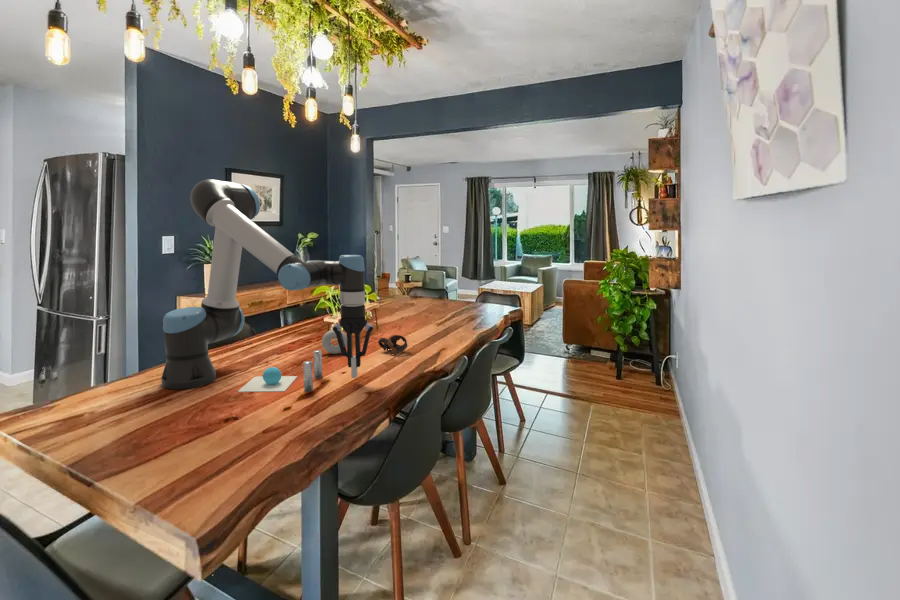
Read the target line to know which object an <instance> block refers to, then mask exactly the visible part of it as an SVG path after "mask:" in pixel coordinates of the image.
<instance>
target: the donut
mask: <svg viewBox="0 0 900 600" xmlns="http://www.w3.org/2000/svg"><path fill="white" fill-rule="evenodd" d="M340 331H341V333H342V337H343V340H344V344H345V347H346V348H347V334H346V332H344V331H342V330H340ZM333 339H337V336H336V333H335V332H334V331H333V329H331V330H329V331H327V332H325V333H324V334H323V337H322V339H321V346H322V347H323V348H324V351H326V352H327V353H329V354H333V355H337V354H341V350H340V347H339V343H338V344H335V345H334V344H332V340H333Z"/></svg>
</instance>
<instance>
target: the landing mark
mask: <svg viewBox="0 0 900 600" xmlns="http://www.w3.org/2000/svg"><path fill="white" fill-rule="evenodd" d="M297 378H298V375H296V376H295V375H281V379H280V381H279V382H278V383H276V384H273V385H270V384H267V383H266V382H265V381H264V380H263V375H262V376H260V375H259V376H254V377H253V378H251V379H250V380H249V381H248V382H247V383H245V384H244V385H243V386H242V387H241V388H239V390H237V393H268V392H269V393H270V392H271V393H272V392H274V393H275V392H277V393H278V392H280V393H281V392H282V393H285V392H286V391H287V389H288V388H289V387H291V385H292V384H293V383H294V381H296V379H297Z"/></svg>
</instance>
